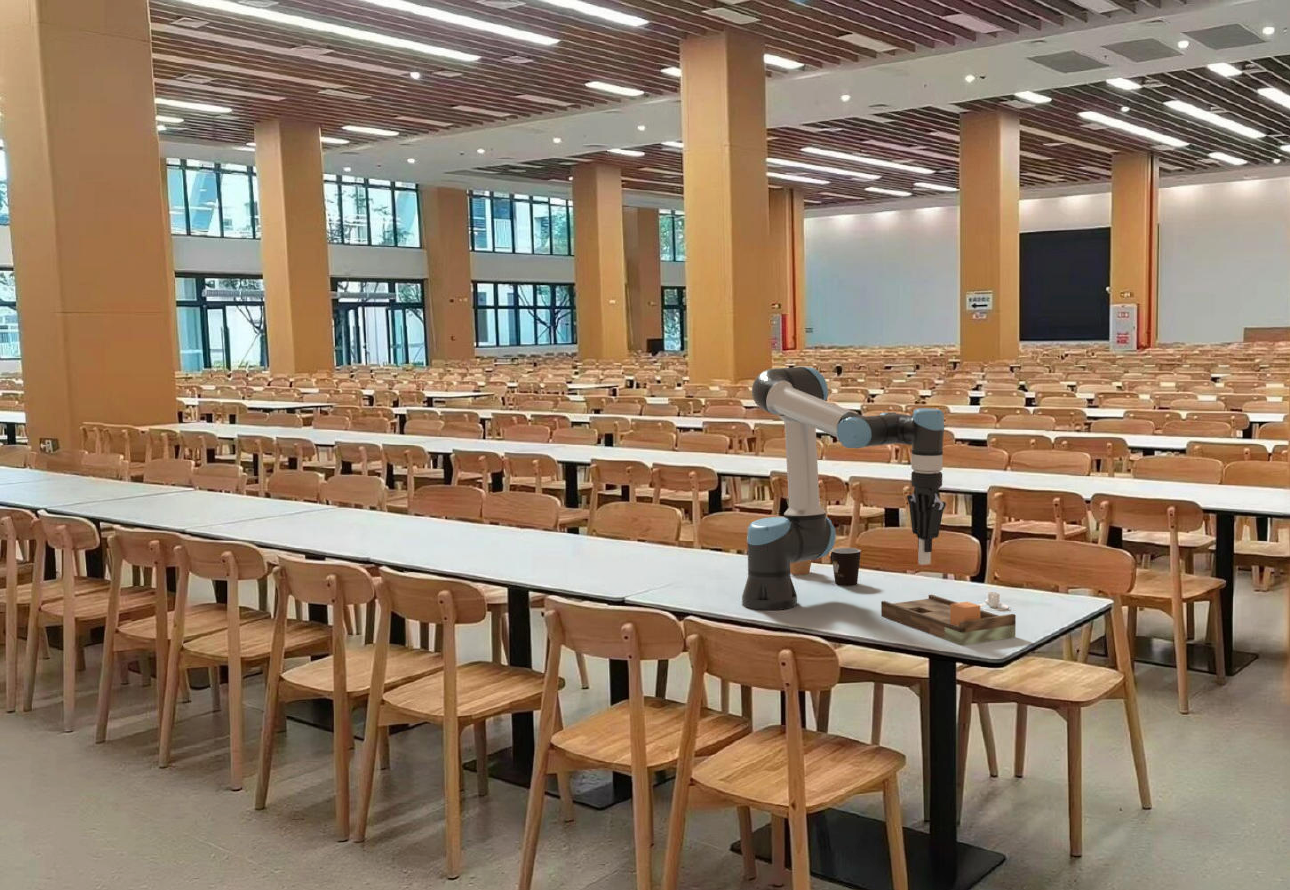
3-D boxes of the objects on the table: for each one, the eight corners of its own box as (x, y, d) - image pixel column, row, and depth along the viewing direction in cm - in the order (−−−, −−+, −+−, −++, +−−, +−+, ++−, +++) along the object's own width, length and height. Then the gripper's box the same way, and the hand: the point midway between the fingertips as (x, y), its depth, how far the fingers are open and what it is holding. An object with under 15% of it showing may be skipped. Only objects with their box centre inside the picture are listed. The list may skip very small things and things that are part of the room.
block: (963, 628, 292) (963, 608, 291) (950, 624, 296) (950, 603, 296) (980, 626, 294) (980, 605, 293) (967, 621, 298) (967, 601, 298)
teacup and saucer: (986, 603, 332) (986, 588, 332) (1014, 606, 327) (1014, 591, 327) (972, 609, 326) (972, 594, 325) (1000, 613, 320) (1000, 598, 320)
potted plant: (777, 572, 378) (776, 493, 376) (802, 568, 382) (801, 490, 380) (796, 577, 369) (795, 497, 367) (821, 573, 374) (821, 494, 371)
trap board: (961, 645, 288) (961, 622, 288) (881, 616, 318) (881, 595, 318) (1015, 636, 294) (1015, 614, 294) (931, 609, 325) (931, 589, 324)
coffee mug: (863, 586, 354) (862, 552, 353) (833, 587, 354) (833, 553, 353) (857, 578, 366) (856, 545, 365) (828, 579, 366) (828, 546, 365)
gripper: (955, 473, 298) (952, 567, 301) (923, 466, 309) (921, 557, 312) (930, 475, 295) (927, 570, 298) (898, 468, 306) (896, 560, 309)
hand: (924, 563), depth 305 cm, fingers closed
